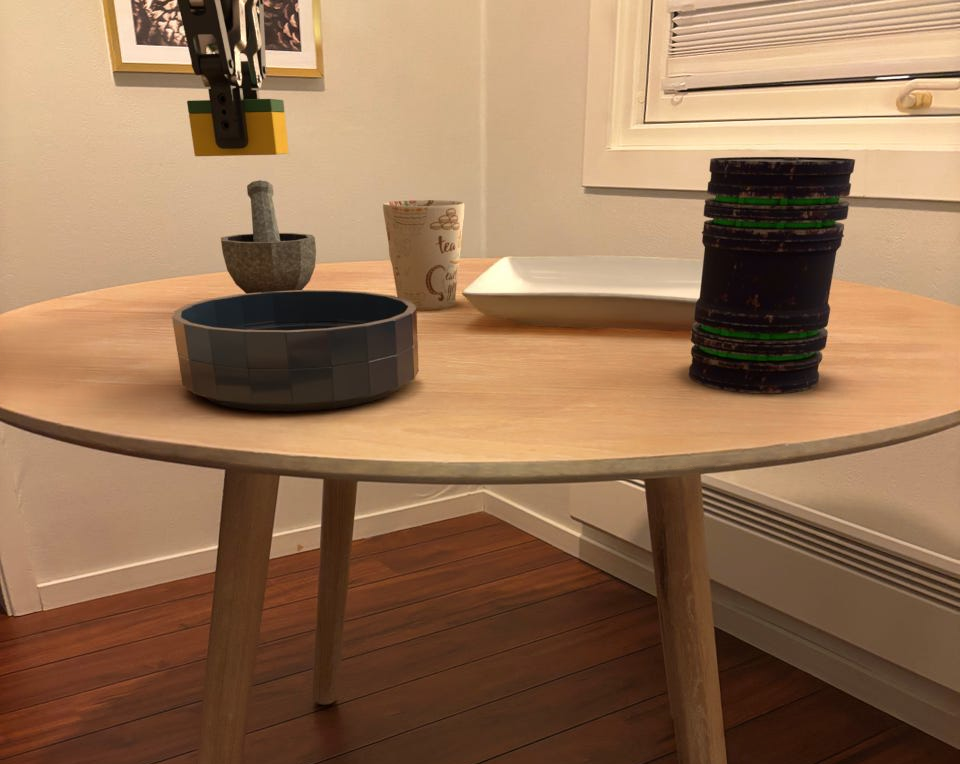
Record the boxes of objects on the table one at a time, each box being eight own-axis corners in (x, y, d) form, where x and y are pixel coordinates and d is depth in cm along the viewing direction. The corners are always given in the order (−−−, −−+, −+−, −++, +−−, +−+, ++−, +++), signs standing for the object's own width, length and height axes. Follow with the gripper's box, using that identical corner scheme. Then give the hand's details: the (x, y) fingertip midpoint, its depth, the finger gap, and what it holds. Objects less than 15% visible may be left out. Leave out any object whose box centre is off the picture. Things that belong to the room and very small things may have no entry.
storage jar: (803, 400, 66) (841, 162, 59) (669, 384, 71) (690, 160, 64) (831, 371, 74) (868, 157, 67) (709, 358, 78) (731, 156, 71)
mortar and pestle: (324, 313, 98) (313, 184, 92) (231, 317, 95) (214, 186, 90) (312, 296, 107) (302, 178, 101) (228, 299, 105) (213, 180, 99)
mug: (412, 314, 96) (408, 207, 92) (356, 298, 106) (350, 200, 101) (480, 306, 100) (480, 203, 96) (420, 291, 110) (417, 196, 105)
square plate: (459, 331, 89) (458, 288, 87) (504, 287, 112) (504, 252, 110) (756, 340, 84) (762, 295, 82) (738, 292, 108) (742, 256, 106)
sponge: (194, 156, 68) (186, 100, 66) (210, 154, 72) (203, 101, 70) (276, 154, 68) (270, 98, 66) (289, 153, 71) (283, 100, 70)
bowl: (148, 414, 64) (134, 330, 61) (225, 358, 79) (216, 289, 76) (401, 418, 63) (397, 333, 60) (429, 360, 78) (427, 290, 75)
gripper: (182, -124, 68) (219, 146, 76) (104, -179, 55) (158, 151, 63) (286, -127, 67) (311, 144, 76) (230, -184, 55) (268, 149, 63)
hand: (241, 146), depth 69 cm, fingers closed on sponge, 4 cm apart
